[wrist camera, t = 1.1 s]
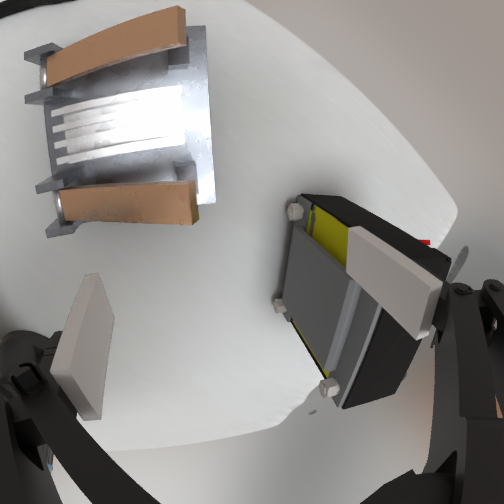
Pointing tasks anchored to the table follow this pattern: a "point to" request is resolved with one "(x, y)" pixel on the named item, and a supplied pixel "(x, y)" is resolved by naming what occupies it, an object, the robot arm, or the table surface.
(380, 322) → the electrical component
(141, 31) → the lever
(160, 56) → the heatsink base
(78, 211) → the lever
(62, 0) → the long black strip
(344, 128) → the table surface
